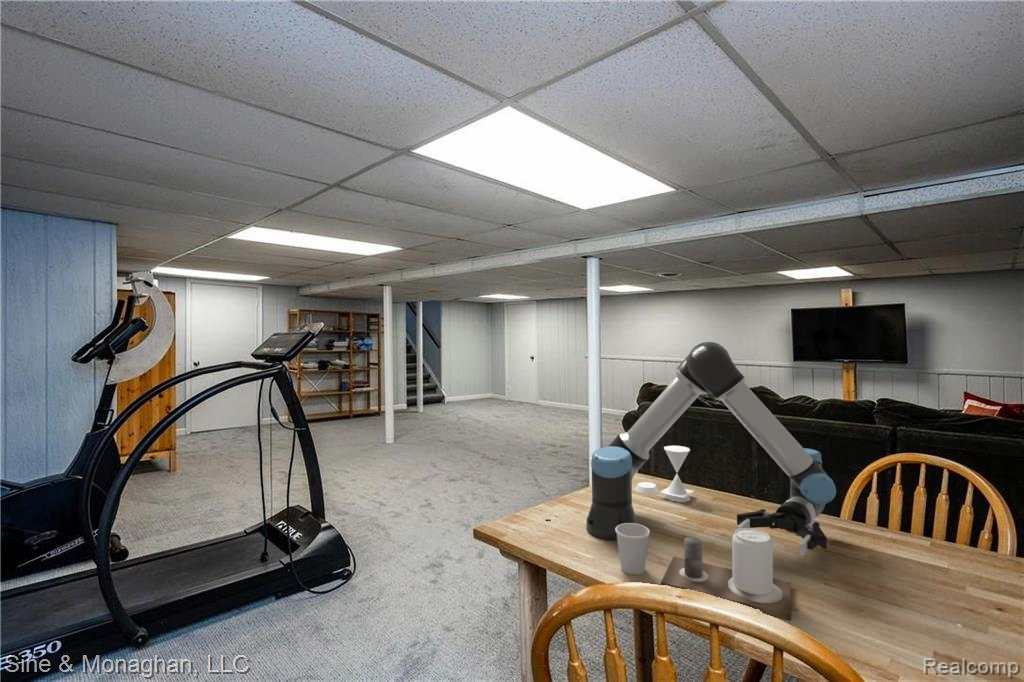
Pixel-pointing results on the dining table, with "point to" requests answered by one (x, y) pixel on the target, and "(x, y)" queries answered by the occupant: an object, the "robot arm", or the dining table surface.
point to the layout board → (723, 582)
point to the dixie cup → (632, 547)
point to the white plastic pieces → (676, 488)
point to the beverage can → (752, 561)
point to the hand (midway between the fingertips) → (768, 540)
